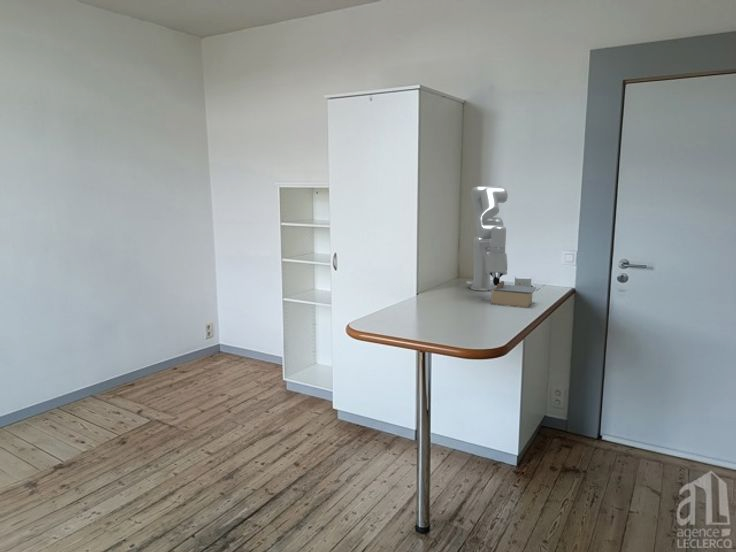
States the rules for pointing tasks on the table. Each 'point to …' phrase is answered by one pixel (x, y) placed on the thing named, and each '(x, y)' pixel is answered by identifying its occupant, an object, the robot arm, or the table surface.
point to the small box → (523, 281)
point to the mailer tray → (511, 298)
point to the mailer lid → (514, 288)
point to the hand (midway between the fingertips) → (496, 285)
